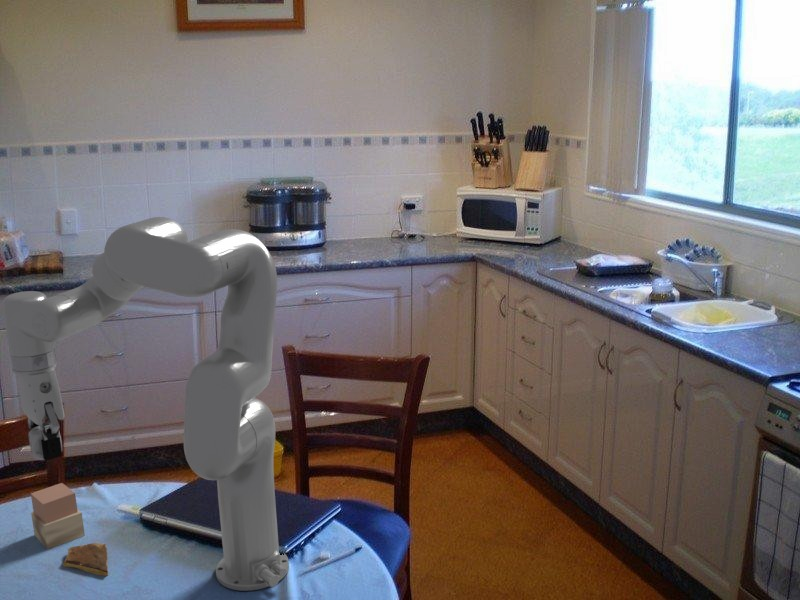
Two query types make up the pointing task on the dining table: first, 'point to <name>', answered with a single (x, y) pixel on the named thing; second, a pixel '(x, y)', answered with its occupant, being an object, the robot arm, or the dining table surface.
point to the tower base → (58, 529)
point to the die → (37, 442)
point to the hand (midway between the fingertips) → (46, 451)
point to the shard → (88, 558)
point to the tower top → (54, 503)
